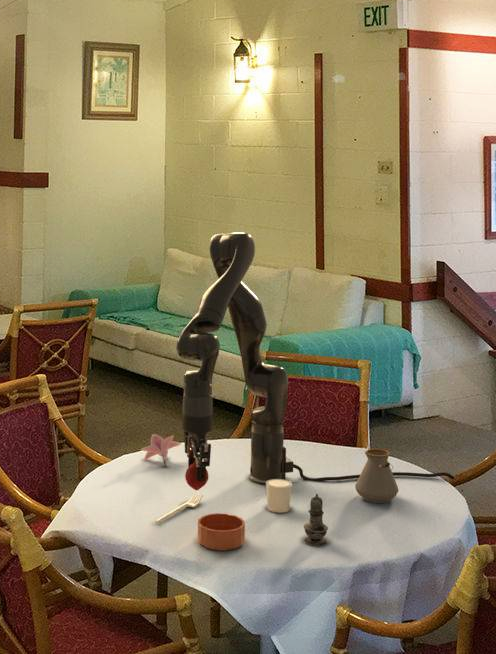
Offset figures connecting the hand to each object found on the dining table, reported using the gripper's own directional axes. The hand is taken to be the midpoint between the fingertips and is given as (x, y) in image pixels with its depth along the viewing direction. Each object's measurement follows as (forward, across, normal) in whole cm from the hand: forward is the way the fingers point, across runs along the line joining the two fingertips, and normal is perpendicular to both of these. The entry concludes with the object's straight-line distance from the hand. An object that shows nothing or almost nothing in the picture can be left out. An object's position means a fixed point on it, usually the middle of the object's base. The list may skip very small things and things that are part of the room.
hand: (196, 476), depth 242 cm
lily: (+12, +47, -5) cm, 49 cm away
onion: (+4, 0, 0) cm, 4 cm away
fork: (+12, +8, +2) cm, 15 cm away
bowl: (+12, -13, -2) cm, 18 cm away
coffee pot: (+12, -2, -51) cm, 53 cm away
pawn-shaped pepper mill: (+12, -19, -24) cm, 33 cm away
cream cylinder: (+12, +3, -24) cm, 27 cm away
